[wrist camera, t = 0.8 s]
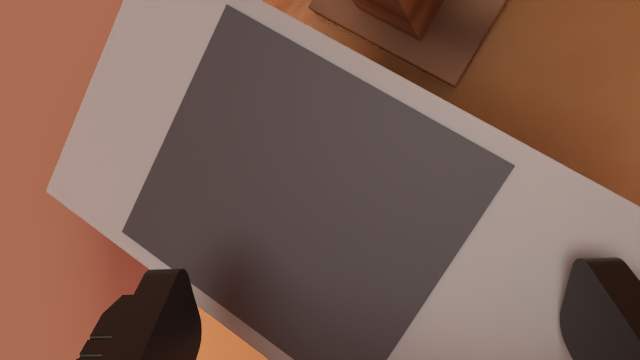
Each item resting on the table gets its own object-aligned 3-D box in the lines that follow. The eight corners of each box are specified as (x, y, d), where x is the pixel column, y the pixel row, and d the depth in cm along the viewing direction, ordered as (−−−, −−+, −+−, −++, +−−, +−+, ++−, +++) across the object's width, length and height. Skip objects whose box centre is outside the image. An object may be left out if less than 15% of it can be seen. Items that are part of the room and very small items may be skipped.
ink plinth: (357, 67, 36) (146, -64, 13) (615, 210, 31) (1010, 408, 8) (307, 159, 37) (43, 191, 14) (544, 307, 33) (704, 691, 10)
